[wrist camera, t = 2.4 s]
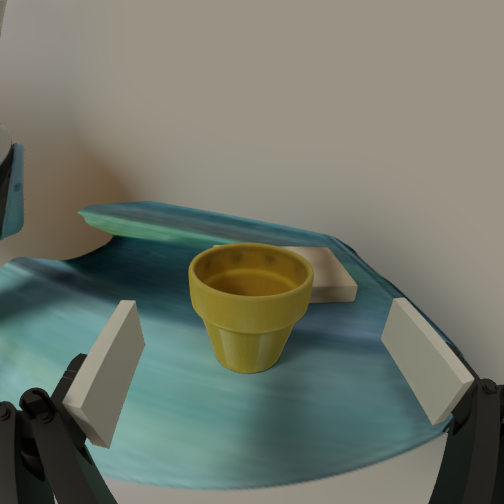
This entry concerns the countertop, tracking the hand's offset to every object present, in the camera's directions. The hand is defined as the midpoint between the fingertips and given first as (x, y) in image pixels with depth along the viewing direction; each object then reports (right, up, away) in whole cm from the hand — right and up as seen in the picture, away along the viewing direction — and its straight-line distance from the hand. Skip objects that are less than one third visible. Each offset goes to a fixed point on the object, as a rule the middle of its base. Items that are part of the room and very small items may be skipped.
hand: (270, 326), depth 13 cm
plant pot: (-1, -7, +14) cm, 15 cm away
